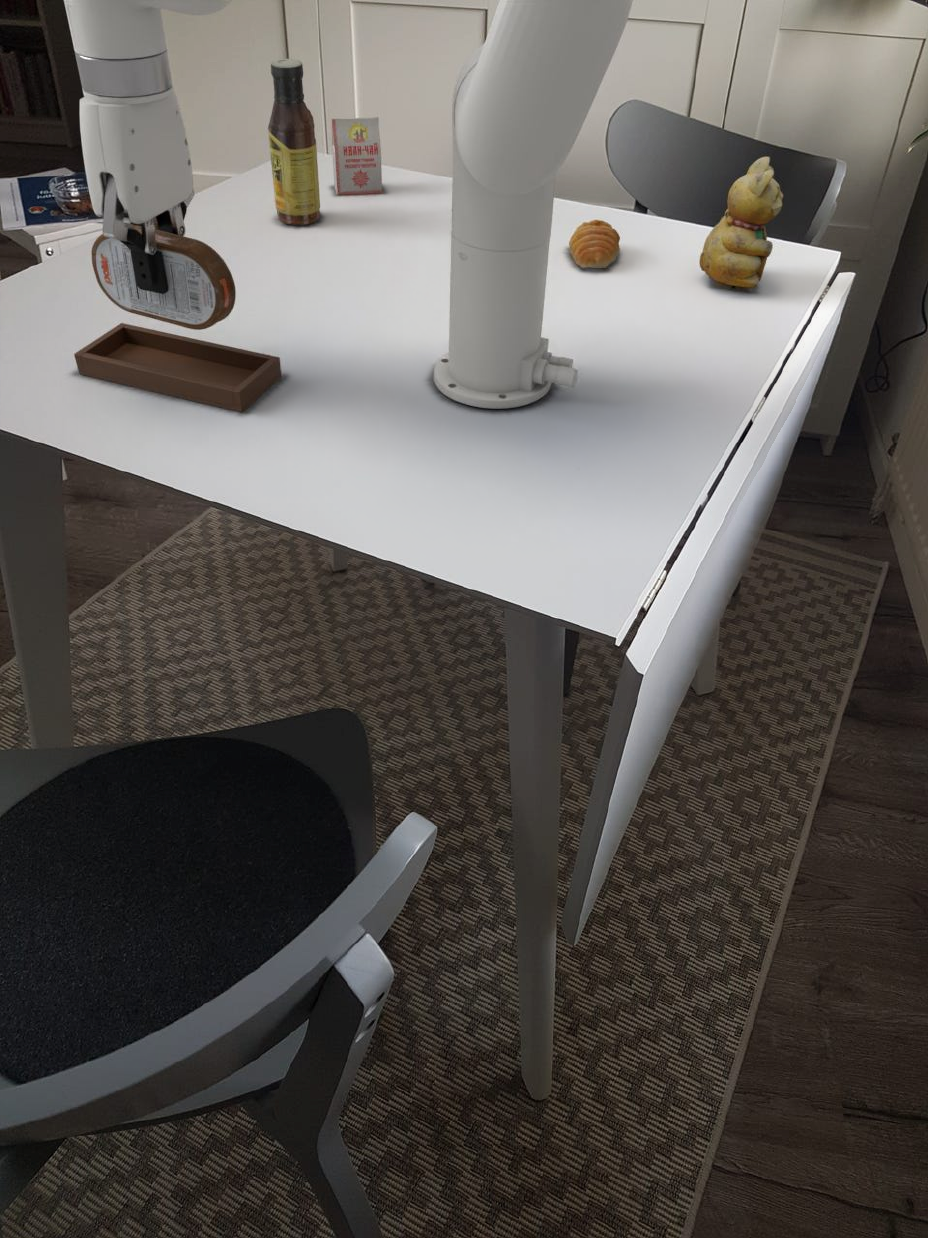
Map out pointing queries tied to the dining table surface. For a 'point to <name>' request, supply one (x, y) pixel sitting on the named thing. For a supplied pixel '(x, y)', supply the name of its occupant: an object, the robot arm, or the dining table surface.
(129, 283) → the tin
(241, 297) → the dining table surface
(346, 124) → the tea box
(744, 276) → the decorative figurine
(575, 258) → the pastry
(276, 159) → the sauce bottle
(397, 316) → the dining table surface
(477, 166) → the robot arm
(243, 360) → the tray
